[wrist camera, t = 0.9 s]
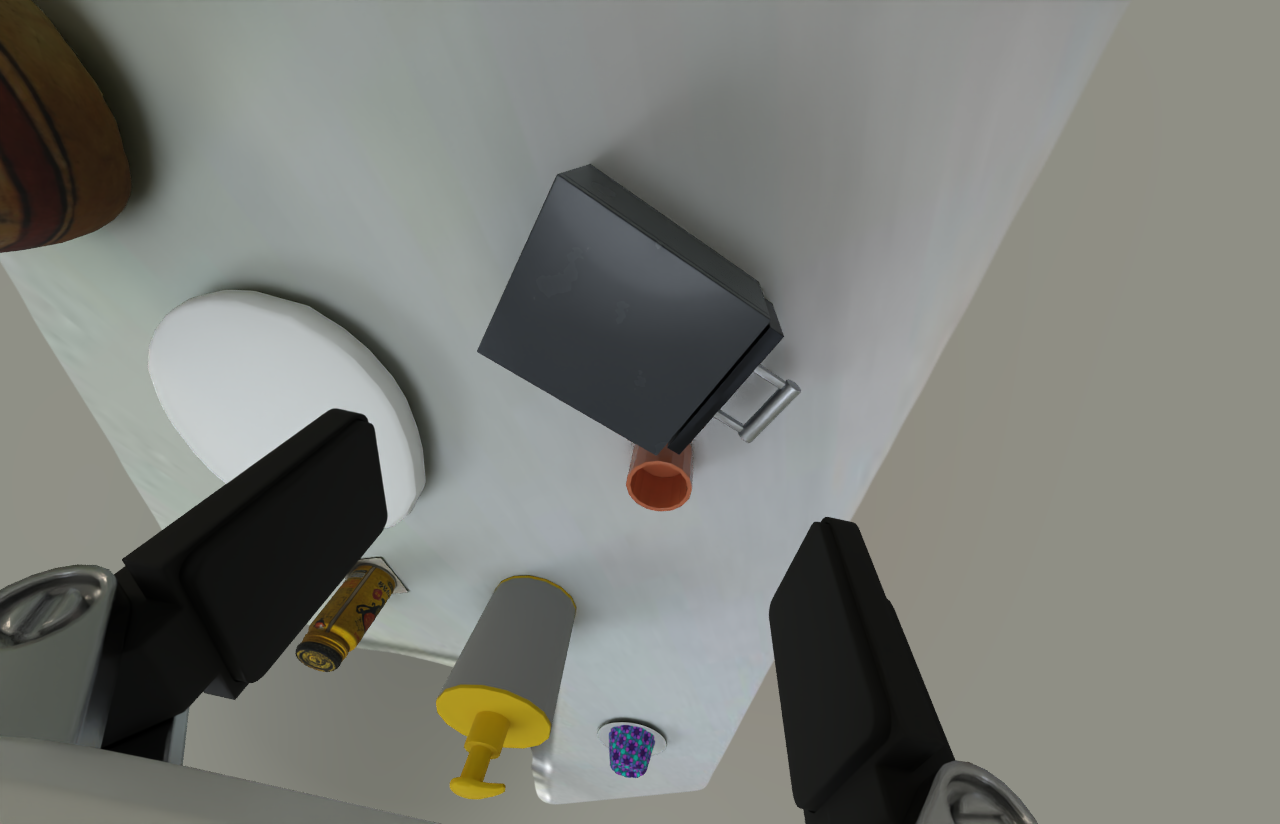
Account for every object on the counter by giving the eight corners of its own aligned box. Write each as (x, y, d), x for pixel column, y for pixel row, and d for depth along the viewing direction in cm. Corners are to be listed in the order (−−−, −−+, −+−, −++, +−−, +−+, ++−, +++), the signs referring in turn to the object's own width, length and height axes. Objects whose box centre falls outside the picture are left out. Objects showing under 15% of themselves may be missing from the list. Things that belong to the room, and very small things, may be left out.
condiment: (409, 591, 65) (354, 676, 55) (361, 595, 67) (299, 678, 57) (381, 556, 62) (317, 640, 51) (331, 561, 64) (260, 643, 54)
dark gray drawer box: (759, 282, 36) (771, 320, 29) (665, 401, 43) (656, 456, 36) (589, 163, 34) (557, 173, 26) (517, 311, 40) (476, 352, 33)
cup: (654, 418, 44) (648, 450, 40) (705, 448, 46) (704, 482, 41) (623, 457, 47) (614, 491, 43) (671, 485, 49) (667, 520, 44)
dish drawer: (820, 336, 37) (840, 374, 31) (725, 437, 43) (728, 484, 38) (616, 195, 34) (597, 209, 28) (545, 327, 40) (518, 360, 34)
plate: (74, 349, 43) (271, 248, 35) (151, 330, 49) (335, 240, 41) (266, 570, 53) (452, 530, 45) (311, 533, 59) (482, 491, 51)
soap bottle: (585, 636, 65) (539, 828, 48) (498, 627, 67) (421, 808, 49) (577, 576, 59) (520, 773, 41) (480, 566, 60) (384, 752, 42)
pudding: (584, 728, 80) (576, 763, 76) (630, 710, 75) (625, 746, 70) (633, 757, 84) (629, 792, 79) (681, 741, 78) (679, 778, 74)
